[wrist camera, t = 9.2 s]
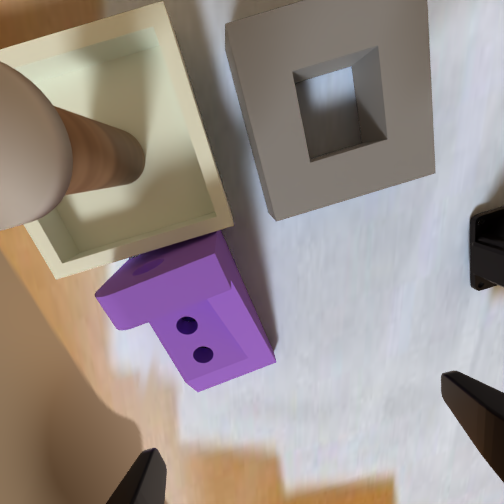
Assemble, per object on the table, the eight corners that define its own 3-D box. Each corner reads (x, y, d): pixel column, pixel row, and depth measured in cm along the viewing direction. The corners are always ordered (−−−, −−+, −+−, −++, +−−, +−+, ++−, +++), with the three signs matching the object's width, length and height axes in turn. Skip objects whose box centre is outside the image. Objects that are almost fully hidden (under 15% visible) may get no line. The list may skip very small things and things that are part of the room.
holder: (388, 0, 16) (425, -37, 13) (403, 171, 19) (435, 173, 16) (225, 49, 16) (225, 23, 13) (268, 212, 19) (276, 221, 16)
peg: (137, 106, 15) (-17, 4, 6) (166, 183, 16) (83, 205, 7) (63, 129, 15) (-215, 66, 6) (99, 204, 16) (-76, 254, 7)
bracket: (130, 257, 19) (82, 305, 13) (218, 222, 19) (214, 253, 13) (199, 377, 23) (190, 461, 17) (273, 349, 23) (292, 422, 16)
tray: (174, 31, 15) (162, 0, 12) (232, 216, 19) (233, 225, 16) (-13, 87, 15) (-68, 69, 12) (81, 262, 19) (56, 279, 16)
